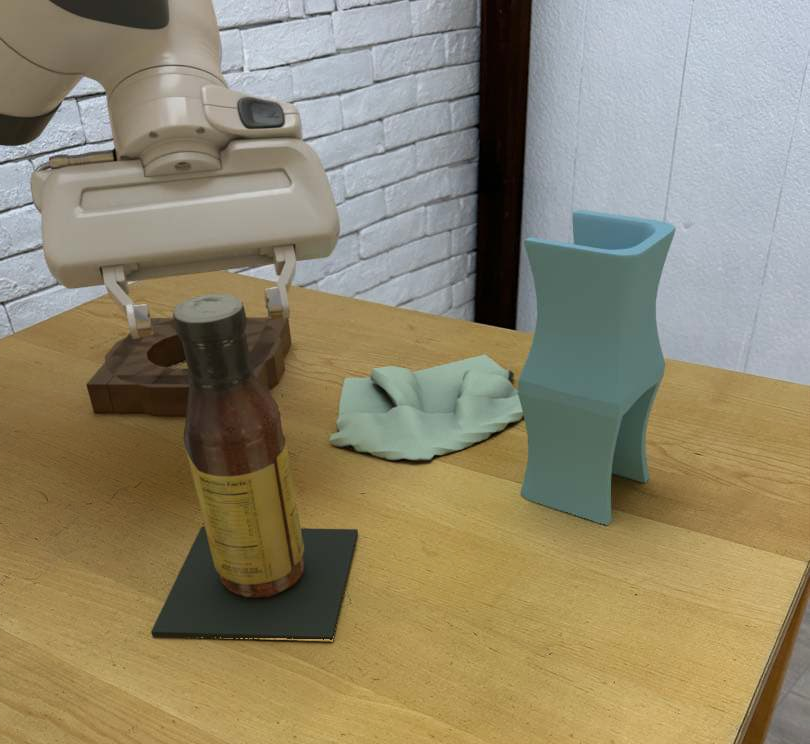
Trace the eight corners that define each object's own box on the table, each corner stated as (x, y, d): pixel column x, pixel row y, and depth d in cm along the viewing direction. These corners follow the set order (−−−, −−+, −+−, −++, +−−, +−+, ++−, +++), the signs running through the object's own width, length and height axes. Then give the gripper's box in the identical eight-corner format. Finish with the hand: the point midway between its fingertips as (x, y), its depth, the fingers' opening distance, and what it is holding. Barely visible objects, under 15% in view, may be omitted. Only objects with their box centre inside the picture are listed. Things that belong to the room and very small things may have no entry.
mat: (152, 637, 59) (150, 631, 59) (202, 531, 69) (201, 526, 69) (332, 642, 58) (332, 636, 58) (358, 534, 68) (357, 528, 67)
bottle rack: (85, 415, 85) (77, 386, 84) (144, 342, 99) (138, 315, 97) (262, 416, 84) (258, 387, 82) (297, 341, 97) (294, 314, 96)
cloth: (306, 459, 77) (303, 435, 76) (357, 352, 94) (356, 331, 93) (549, 470, 74) (550, 444, 72) (555, 357, 91) (557, 335, 90)
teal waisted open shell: (561, 452, 76) (577, 208, 64) (649, 478, 72) (684, 223, 61) (514, 496, 71) (522, 239, 59) (607, 526, 67) (635, 258, 55)
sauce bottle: (260, 539, 67) (215, 275, 55) (325, 567, 64) (292, 293, 52) (195, 586, 63) (132, 311, 51) (261, 618, 60) (210, 333, 48)
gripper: (14, 131, 60) (44, 326, 58) (319, 103, 63) (358, 286, 61) (37, 184, 66) (66, 363, 64) (314, 156, 69) (350, 324, 67)
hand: (211, 325), depth 62 cm, fingers open, 8 cm apart
